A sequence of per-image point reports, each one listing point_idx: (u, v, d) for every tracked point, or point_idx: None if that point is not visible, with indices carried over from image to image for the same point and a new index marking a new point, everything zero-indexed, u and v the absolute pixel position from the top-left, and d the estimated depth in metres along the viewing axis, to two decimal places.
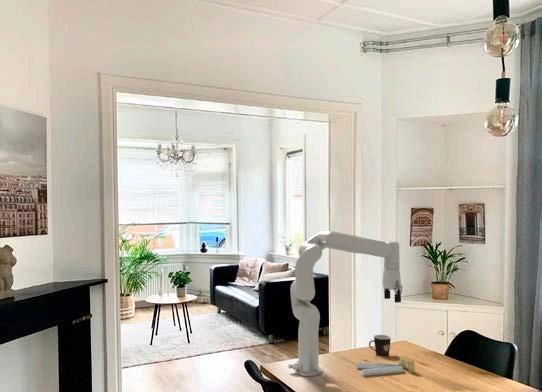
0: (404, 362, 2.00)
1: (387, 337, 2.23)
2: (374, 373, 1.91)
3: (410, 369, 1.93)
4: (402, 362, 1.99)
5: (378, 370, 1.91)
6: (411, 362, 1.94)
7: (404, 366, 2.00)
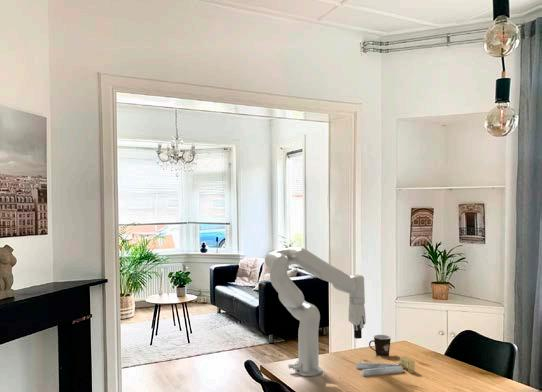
0: (404, 362, 2.00)
1: (387, 337, 2.23)
2: (374, 373, 1.91)
3: (410, 369, 1.93)
4: (402, 362, 1.99)
5: (378, 370, 1.91)
6: (411, 362, 1.94)
7: (404, 366, 2.00)
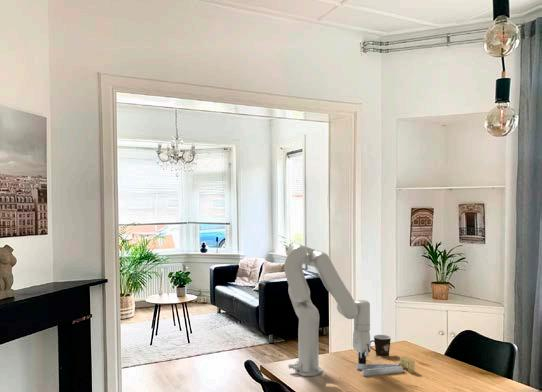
0: (404, 362, 2.00)
1: (387, 337, 2.23)
2: (374, 373, 1.91)
3: (410, 369, 1.93)
4: (402, 362, 1.99)
5: (378, 370, 1.91)
6: (411, 362, 1.94)
7: (404, 366, 2.00)
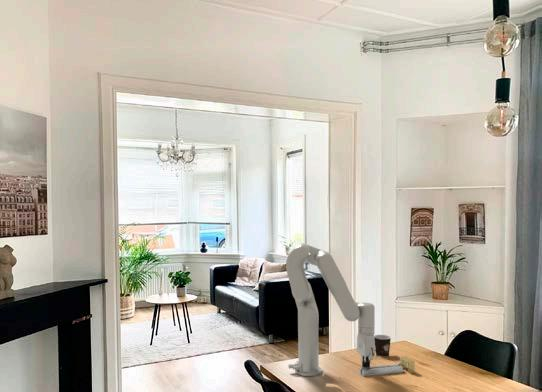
0: (404, 362, 2.00)
1: (387, 337, 2.23)
2: (374, 373, 1.91)
3: (410, 369, 1.93)
4: (402, 362, 1.99)
5: (378, 370, 1.91)
6: (411, 362, 1.94)
7: (404, 366, 2.00)
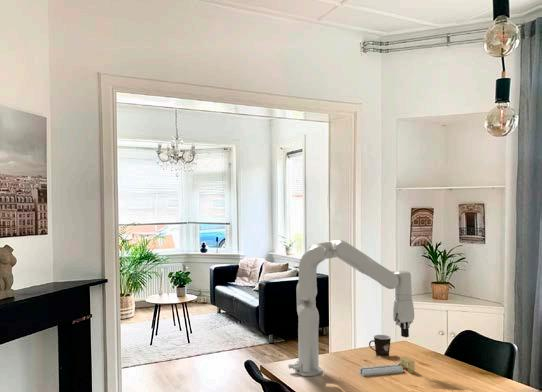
0: (404, 362, 2.00)
1: (387, 337, 2.23)
2: (374, 373, 1.91)
3: (410, 369, 1.93)
4: (402, 362, 1.99)
5: (378, 370, 1.91)
6: (411, 362, 1.94)
7: (404, 366, 2.00)
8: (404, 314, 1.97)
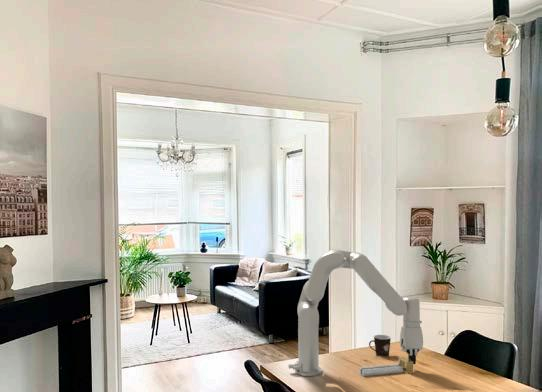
0: (402, 362, 1.99)
1: (387, 337, 2.23)
2: (374, 373, 1.91)
3: (408, 369, 1.93)
4: (400, 362, 1.99)
5: (378, 370, 1.91)
6: (409, 362, 1.94)
7: None
8: (410, 341, 1.96)
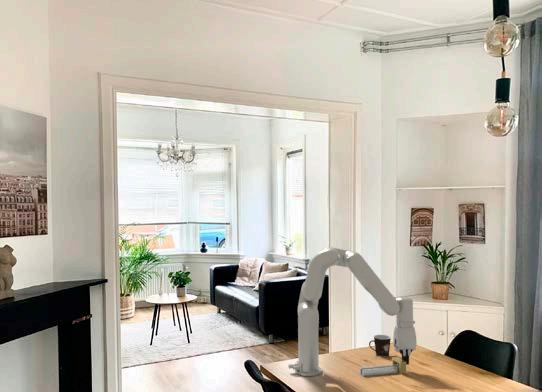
0: (396, 363, 1.99)
1: (387, 337, 2.23)
2: (374, 373, 1.91)
3: (402, 370, 1.92)
4: (394, 363, 1.98)
5: (378, 370, 1.91)
6: (403, 363, 1.93)
7: None
8: (403, 341, 1.95)
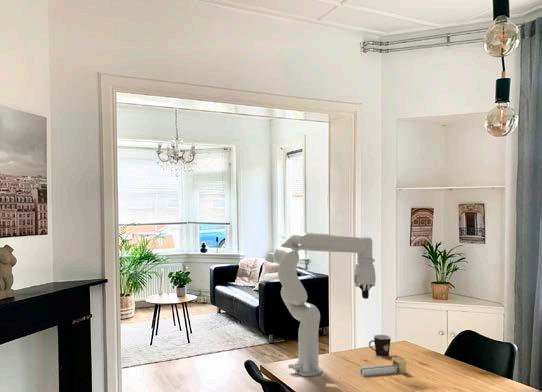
0: (396, 363, 1.99)
1: (387, 337, 2.23)
2: (374, 373, 1.91)
3: (402, 370, 1.92)
4: (394, 363, 1.98)
5: (378, 370, 1.91)
6: (403, 363, 1.93)
7: None
8: (362, 276, 2.10)
